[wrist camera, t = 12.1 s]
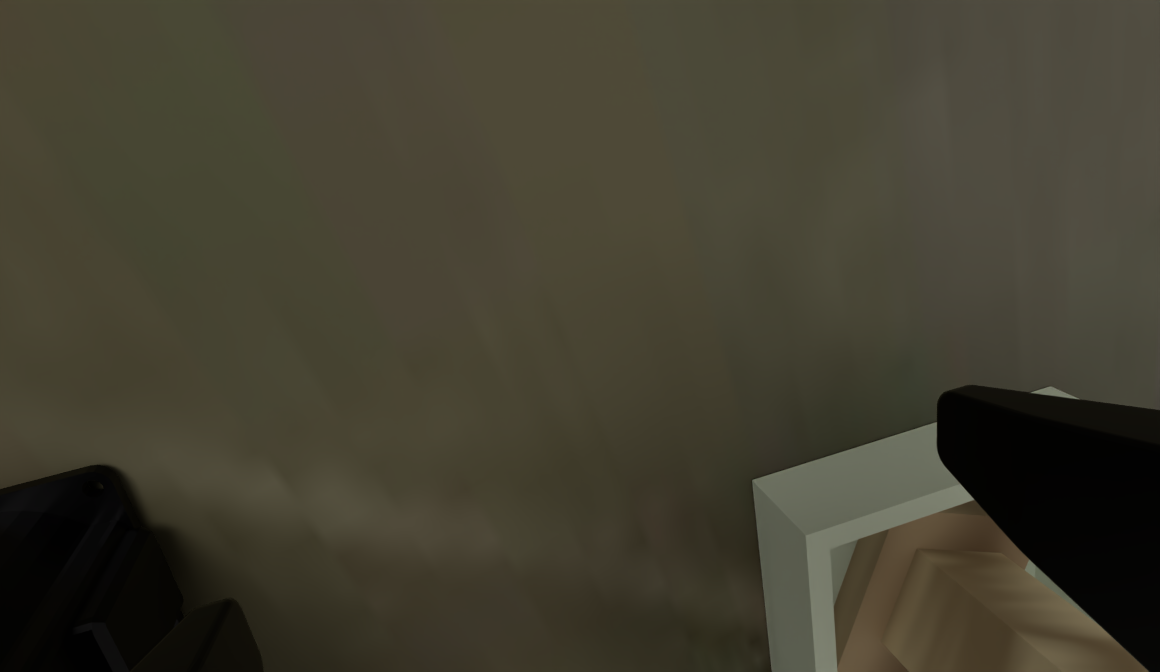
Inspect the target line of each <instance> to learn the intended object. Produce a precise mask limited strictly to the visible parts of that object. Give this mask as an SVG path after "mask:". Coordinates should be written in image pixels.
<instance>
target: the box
mask: <svg viewBox="0 0 1160 672" xmlns="http://www.w3.org/2000/svg"><path fill="white" fill-rule="evenodd" d="M1031 393H1036V394H1044V395H1051V396H1059V397H1066V398H1073V399H1078V398H1076V397H1074V396H1071V395H1069V394H1067V393H1065V392H1062V391H1060V390H1058V389H1055V388H1053V387H1051V386H1050V387H1047V388H1043V389H1040V390H1037V391H1034V392H1031ZM936 443H937V422H935V423H932V424H929V425H926V426H922V427H919V428H916V429H913V430H910V431H907V432H903V433H900V434H897V435H894V436H891V437H887V438H884V439H881V440H878V441H875V442H872V443H868V444H865V445H862V446H859V447H856V448H852V449H849V450H846V451H843V452H840V453H837V454H833V455H830V456H827V457H824V458H821V459H817V460H814V461H811V462H808V463H805V464H801V465H798V466H795V467H792V468H789V469H786V470H782V471H779V472H776V473H773V474H770V475H766V476H763V477H760V478H757V479H754V480H752V485H753V495H754V504H755V514H756V524H757V533H758V543H759V553H760V563H761V572H762V582H763V592H764V601H765V611H766V621H767V630H768V640H769V650H770V660H771V669H772V672H837V656H836V639H835V623H834V604H835V602H836V599H837V596H838V593H839V591H840V588H841V585H842V582H843V579H844V577H845V574H846V571H847V568H848V566H849V563H850V560H851V557H852V555H853V552H854V549H855V546H856V544H857V541H858V539H861V538H864V537H867V536H869V535H872V534H875V533H878V532H881V531H884V530H887V529H890V528H893V527H896V526H899V525H902V524H905V523H908V522H911V521H914V520H916V519H919V518H922V517H925V516H928V515H931V514H934V513H937V512H940V511H943V510H946V509H949V508H952V507H955V506H958V505H961V504H963V503H966V502H969V501H972V500H974V499H973V498H972V497H971V495H970V494H969V493H968V492H967V491H966V490H965V489H964V488H963V486H962V485H961V484H960V483H959V482H958V481H957V480H956V479H955V477H954V476H953V475H952V474H951V473H950V472H949V471H948V470H947V468H946V467H945V466H944V465H943V463H942V461H941V460H940V458H939V455H938V452H937V445H936ZM1025 571H1026V572H1028V573H1029V574H1030V575H1032V576H1033V577H1035V578H1036V579H1037V580H1039V581H1040V582H1041V583H1043V584H1044V585H1045V586H1047V587H1048V588H1049V589H1051V590H1052V591H1053V592H1055V593H1056V594H1057V595H1059V596H1060V597H1062V598H1063V599H1064V600H1066V601H1067V602H1068V603H1070V604H1071V605H1072V606H1074V607H1075V608H1076V609H1078V610H1079V611H1080V612H1082V613H1083V614H1085V615H1086V616H1087V617H1089V618H1090V619H1091V620H1093V619H1092V618H1091V617H1090V616H1089V615H1088V614H1087V613H1086V612H1084V611H1083V610H1082V609H1081V608H1080V607H1079V606H1078V605H1077V604H1076V603H1075V602H1074V601H1073V600H1072V599H1071V598H1069V597H1068V596H1067V595H1066V594H1065V593H1064V592H1063V591H1062V590H1061V589H1060V588H1059V587H1058V586H1057V585H1056V584H1055V583H1053V582H1052V581H1051V580H1050V579H1049V578H1048V577H1047V576H1046V575H1045V574H1044V573H1043V572H1042V571H1041V570H1040V569H1039V568H1037V567H1036V566H1035V565H1034V564H1033V563H1032V562H1031V561H1030V560H1029V561H1028V563H1027V566H1026V568H1025ZM1093 621H1094V620H1093ZM1094 622H1095V621H1094ZM1095 623H1096V622H1095Z"/></svg>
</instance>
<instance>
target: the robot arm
mask: <svg viewBox="0 0 1160 672" xmlns="http://www.w3.org/2000/svg"><path fill="white" fill-rule="evenodd" d="M936 445H937V452H938V455H939V458H940V460H941V461H942V463H943V465H944V466H945V467H946V468H947V470H948V471H949V472H950V473H951V474H952V475H953V476H954V477H955V479H956V480H957V481H958V482H959V483H960V484H961V485H962V486H963V488H964V489H965V490H966V491H967V492H968V493H969V494H970V495H971V497H972V498H973V499H974V500H975V501H976V502H977V503H978V504H979V506H980V507H981V508H982V509H983V510H984V511H985V512H986V513H987V515H988V516H989V517H990V518H991V519H992V520H993V521H994V522H995V524H996V525H997V526H998V527H999V528H1000V529H1001V530H1002V531H1003V533H1004V534H1005V535H1006V536H1007V537H1008V538H1009V539H1010V540H1011V541H1012V542H1013V543H1014V545H1015V546H1016V547H1017V548H1018V549H1019V550H1020V551H1021V552H1022V553H1023V554H1024V555H1025V556H1026V557H1027V558H1028V559H1029V560H1030V561H1031V562H1032V563H1033V564H1034V565H1035V566H1036V567H1037V568H1039V569H1040V570H1041V571H1042V572H1043V573H1044V574H1045V575H1046V576H1047V577H1048V578H1049V579H1050V580H1051V581H1052V582H1053V583H1055V584H1056V585H1057V586H1058V587H1059V588H1060V589H1061V590H1062V591H1063V592H1064V593H1065V594H1066V595H1067V596H1068V597H1069V598H1071V599H1072V600H1073V601H1074V602H1075V603H1076V604H1077V605H1078V606H1079V607H1080V608H1081V609H1082V610H1083V611H1084V612H1086V613H1087V614H1088V615H1089V616H1090V617H1091V618H1092V619H1093V620H1094V621H1095V622H1096V623H1097V624H1098V625H1099V626H1100V627H1102V628H1103V629H1104V630H1105V631H1106V632H1107V633H1108V634H1109V635H1110V636H1111V637H1112V638H1113V639H1114V640H1115V641H1116V642H1118V643H1119V644H1120V645H1121V646H1122V647H1123V648H1124V649H1125V650H1126V651H1127V652H1128V653H1129V654H1130V655H1131V656H1133V657H1134V658H1135V659H1136V660H1137V661H1138V662H1139V663H1140V664H1141V665H1142V666H1143V667H1144V668H1145V669H1146V670H1147V671H1149V672H1160V410H1155V409H1147V408H1140V407H1132V406H1125V405H1118V404H1110V403H1103V402H1095V401H1088V400H1081V399H1073V398H1066V397H1059V396H1051V395H1044V394H1036V393H1029V392H1022V391H1014V390H1007V389H999V388H992V387H985V386H977V385H967V386H963V387H959V388H956V389H952V390H949V391H946V392H944V393H943V394H942V395H941V396H940V397H939V399H938V403H937V443H936ZM89 480H95V481H98V482H100V483H101V484H102V485H103V488H104V489H102V490H95V489H93V488H91V487H90V486H89V485H88V483H87V481H89ZM182 603H183V597H182V594H181V592H180V590H179V588H178V586H177V584H176V581H175V579H174V577H173V575H172V573H171V571H170V569H169V566H168V564H167V562H166V560H165V558H164V556H163V553H162V551H161V549H160V547H159V545H158V543H157V540H156V538H155V536H154V534H153V532H152V531H150V530H148V529H146V528H145V527H141V525H140V523H139V520H138V518H137V516H136V514H135V512H134V510H133V508H132V506H131V503H130V501H129V499H128V497H127V495H126V493H125V491H124V488H123V486H122V484H121V482H120V480H119V478H118V476H117V475H116V473H115V472H114V471H113V470H112V469H110V468H108V467H106V466H102V465H92V466H87V467H83V468H79V469H76V470H72V471H68V472H64V473H60V474H57V475H53V476H49V477H45V478H41V479H38V480H34V481H30V482H26V483H22V484H18V485H15V486H11V487H7V488H3V489H0V672H263V664H262V659H261V655H260V652H259V649H258V647H257V644H256V642H255V640H254V637H253V635H252V632H251V630H250V627H249V625H248V623H247V620H246V618H245V615H244V613H243V611H242V608H241V606H240V605H239V603H238V602H237V601H236V600H234V599H232V598H227V599H223V600H220V601H216V602H213V603H209V604H206V605H202V606H199V607H197V608H195V609H193V610H192V611H191V612H190V613H189V614H188V615H187V616H186V617H185V618H184V617H183V614H182V612H181V610H180V609H181V606H182Z"/></svg>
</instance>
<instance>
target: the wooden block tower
mask: <svg viewBox="0 0 1160 672" xmlns="http://www.w3.org/2000/svg"><path fill="white" fill-rule="evenodd" d="M1028 561H1029V559H1028V558H1027V557H1026V556H1025V555H1024V554H1023V553H1022V552H1021V551H1020V550H1019V549H1018V548H1017V547H1016V546H1015V545H1014V543H1013V542H1012V541H1011V540H1010V539H1009V538H1008V537H1007V536H1006V535H1005V534H1004V533H1003V531H1002V530H1001V529H1000V528H999V527H998V526H997V525H996V524H995V522H994V521H993V520H992V519H991V518H990V517H989V516H988V515H987V513H986V512H985V511H984V510H983V509H982V508H981V507H980V506H979V504H978V503H977V502H976V501H975V500H972V501H969V502H966V503H963V504H961V505H958V506H955V507H952V508H949V509H946V510H943V511H940V512H937V513H934V514H931V515H928V516H925V517H922V518H919V519H916V520H914V521H911V522H908V523H905V524H902V525H899V526H896V527H893V528H890V529H887V530H884V531H881V532H878V533H875V534H872V535H869V536H867V537H864V538H861V539H858V541H857V544H856V546H855V549H854V552H853V555H852V557H851V560H850V563H849V566H848V568H847V571H846V574H845V577H844V579H843V582H842V585H841V588H840V591H839V593H838V596H837V599H836V602H835V604H834V623H835V639H836V656H837V672H1149V671H1147V670H1146V669H1145V668H1144V667H1143V666H1142V665H1141V664H1140V663H1139V662H1138V661H1137V660H1136V659H1135V658H1134V657H1133V656H1131V655H1130V654H1129V653H1128V652H1127V651H1126V650H1125V649H1124V648H1123V647H1122V646H1121V645H1120V644H1119V643H1118V642H1116V641H1115V640H1114V639H1113V638H1112V637H1111V636H1110V635H1109V634H1108V633H1107V632H1106V631H1105V630H1104V629H1103V628H1102V627H1100V626H1099V625H1098V624H1097V623H1095V622H1094V621H1093V620H1091V619H1090V618H1089V617H1087V616H1086V615H1085V614H1083V613H1082V612H1080V611H1079V610H1078V609H1076V608H1075V607H1074V606H1072V605H1071V604H1070V603H1068V602H1067V601H1066V600H1064V599H1063V598H1062V597H1060V596H1059V595H1057V594H1056V593H1055V592H1053V591H1052V590H1051V589H1049V588H1048V587H1047V586H1045V585H1044V584H1043V583H1041V582H1040V581H1039V580H1037V579H1036V578H1035V577H1033V576H1032V575H1030V574H1029V573H1028V572H1026V571H1025V568H1026V566H1027V563H1028Z"/></svg>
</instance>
